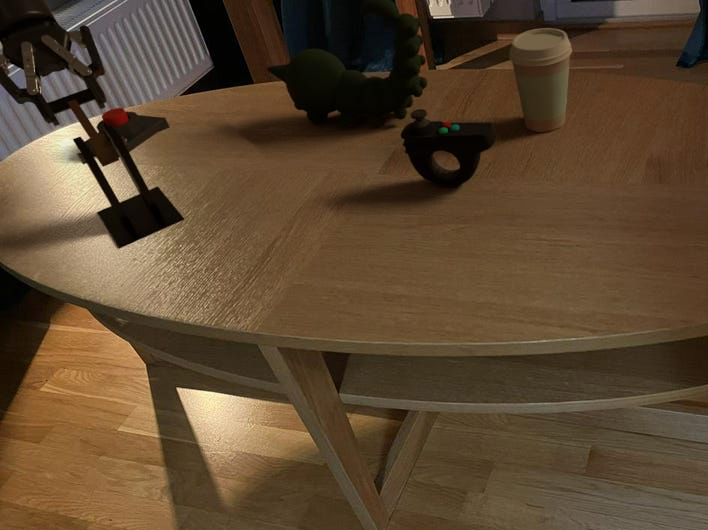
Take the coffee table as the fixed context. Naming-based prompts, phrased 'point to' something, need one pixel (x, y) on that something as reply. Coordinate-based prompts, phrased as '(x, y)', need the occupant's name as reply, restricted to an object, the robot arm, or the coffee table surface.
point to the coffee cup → (542, 76)
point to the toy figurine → (358, 76)
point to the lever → (86, 125)
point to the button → (115, 117)
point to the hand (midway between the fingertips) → (79, 113)
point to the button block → (134, 129)
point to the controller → (446, 147)
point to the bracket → (136, 212)
